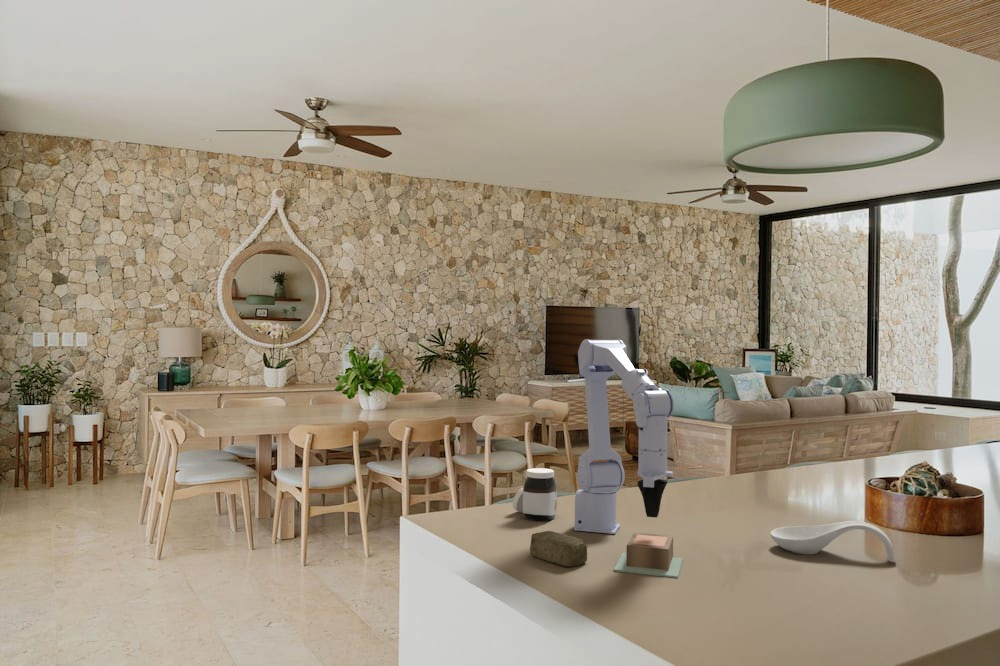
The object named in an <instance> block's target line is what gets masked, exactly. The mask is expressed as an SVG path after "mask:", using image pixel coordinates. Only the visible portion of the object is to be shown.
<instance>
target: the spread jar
mask: <svg viewBox="0 0 1000 666" xmlns="http://www.w3.org/2000/svg"><path fill="white" fill-rule="evenodd" d="M525 475H526V478H525V481H524V483H523V486H522V487H521V488H520V489H519V490H517V492H516V493H515V495H514V496H513V500H512V508H513V509H514V510H515V511H517V512H518V513H522V514H523V516H524V518H525V519H527V520H530V521H537V522H543V521H544V522H547V521H551V520H553V519H554V518H555V517H556V513H557V508H558V507H557V505H558V504H557V503H558V502H557V501H558V499H557V497H558V495H557V494H558V488H557V487H558V486H557V482H556V480H555V478H554V477H555V470H553V469H551V468H545V467H537V468H536V467H534V468H533V467H532V468H528V469H526V471H525Z"/></svg>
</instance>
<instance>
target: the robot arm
mask: <svg viewBox="0 0 1000 666" xmlns="http://www.w3.org/2000/svg"><path fill="white" fill-rule="evenodd" d="M627 350H628V348H627V345H626V344H625V342H624V341H623V340H622V339H588V338H587V339H583V340H582V342H581V343H580V345H579V347H578V351H577V357H578V358H577V359H578V369H579V376H582V377H583V378H584V386H585V400H586V401H585V404H586V416H587V418H586V419H587V420H586V421H587V431H588V432H587V434H588V446H589V447H588V449H587V450H585V451H584V452H583V453H582V454H581V455H580V456H579V457H578V467H577V471H576V472H577V473H576V477H577V483H578V485H579V487H580V488H581V489H577V490H576V492H575V497H574V527H573V530H574V531H576V532H577V531H578V532H580V531H581V532H589V533H599V534H600V533H601V534H609V535H610V534H611V535H614V534H616V533H617V531H618V530H619V528H620V527H621V524H620V523H617V492H620V488H622V486H623V484H624V482H625V476H626V475H625V474H626V473H625V469H624V466H623V463H622V456H621V455H620V454H619V453H618V452H616V450H614V449H613V448H612V445H611V431H610V419H609V418H610V417H609V401H608V389H607V381H608V379H609V378H610V377H612V376H614V375H615V374H617V376H618V377H619V378H620V379H621V381H620V382H621V383H620V384H621V388H622V389H623V390H624V391H625V393H626V395H627V396H628V397H629V398H630V400H632V402H633V403H632V406H633V412H634V416H635V424H636V426H637V427H638V450H637V451H638V452H637V453H638V456H637V457H638V463H637V464H638V469H637V471H636V474H637V475H638V477H640V478H641V479H639V480H637V487H638V488H639V492H640V494H641V496H642V500H643V505H644V511H645V515H646V517H647V518H658V516H659V513H660V508H661V501H662V497H663V494H664V490H665V488H666V487H667V485H668V480H667V479H664V478H666V477H673V475H674V471H673V470H672V471H671V470H670V471H669V470H668V418H670V417H671V416H672V414H673V413H674V411H673V410H674V405H675V404H674V398H673V396H672V394H671V392H670V390H669V389H666V388H663V389H662V388H661V387H658V386H657V385H656V384H655V382H653V381H652V379H651V378H650V377H649V376H648V374H647V373H646V371H645V370H644V369H640V368H639V369H638V368H635V367H634V365H633V362H631V360H630V359H629V357H628V355H627V353H628V351H627ZM594 461H599V462H594Z"/></svg>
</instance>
